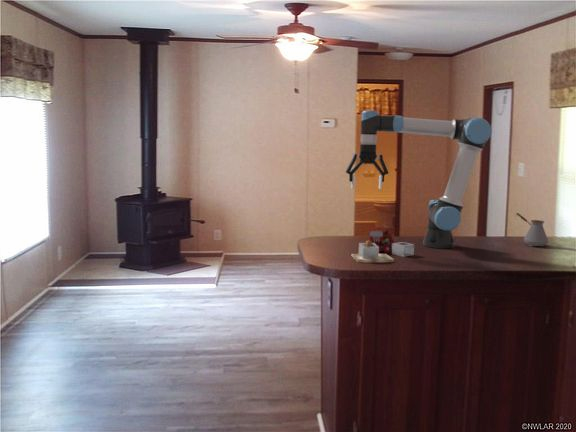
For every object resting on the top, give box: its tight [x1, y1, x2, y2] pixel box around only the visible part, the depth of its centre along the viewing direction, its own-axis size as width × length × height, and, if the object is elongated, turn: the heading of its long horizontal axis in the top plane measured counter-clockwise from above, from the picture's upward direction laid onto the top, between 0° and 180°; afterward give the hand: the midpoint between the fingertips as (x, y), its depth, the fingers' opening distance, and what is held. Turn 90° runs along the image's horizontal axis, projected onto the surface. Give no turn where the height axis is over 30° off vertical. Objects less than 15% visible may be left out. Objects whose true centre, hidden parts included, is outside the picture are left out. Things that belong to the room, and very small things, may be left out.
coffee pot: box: [515, 212, 549, 247], centre depth 308 cm, size 21×12×15 cm, turn 21°
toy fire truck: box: [367, 229, 395, 254], centre depth 279 cm, size 7×12×10 cm, turn 96°
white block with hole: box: [391, 241, 415, 258], centre depth 274 cm, size 7×7×5 cm
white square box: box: [358, 242, 380, 259], centre depth 261 cm, size 7×7×5 cm
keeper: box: [350, 240, 395, 263], centre depth 262 cm, size 16×12×8 cm
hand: (366, 188), depth 283 cm, fingers open, 13 cm apart
